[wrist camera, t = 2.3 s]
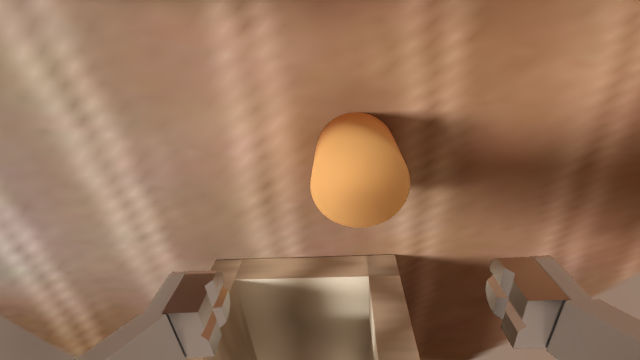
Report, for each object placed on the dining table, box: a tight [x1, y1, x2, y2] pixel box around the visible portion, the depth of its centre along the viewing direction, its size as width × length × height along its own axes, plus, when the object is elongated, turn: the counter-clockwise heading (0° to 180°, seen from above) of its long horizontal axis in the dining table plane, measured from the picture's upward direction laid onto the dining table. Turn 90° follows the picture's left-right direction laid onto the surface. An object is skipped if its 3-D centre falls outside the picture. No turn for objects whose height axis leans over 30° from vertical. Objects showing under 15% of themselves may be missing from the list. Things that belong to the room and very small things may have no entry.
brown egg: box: [310, 112, 410, 227], centre depth 16 cm, size 5×5×4 cm
